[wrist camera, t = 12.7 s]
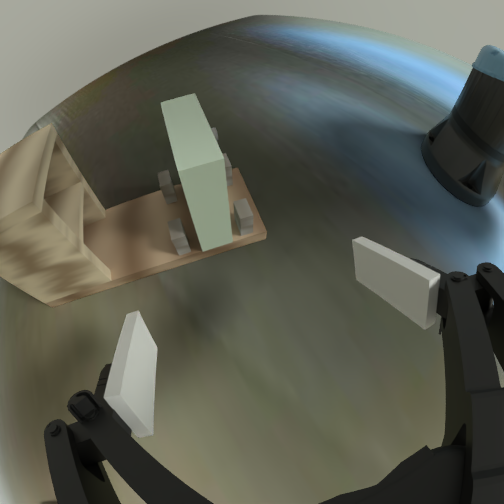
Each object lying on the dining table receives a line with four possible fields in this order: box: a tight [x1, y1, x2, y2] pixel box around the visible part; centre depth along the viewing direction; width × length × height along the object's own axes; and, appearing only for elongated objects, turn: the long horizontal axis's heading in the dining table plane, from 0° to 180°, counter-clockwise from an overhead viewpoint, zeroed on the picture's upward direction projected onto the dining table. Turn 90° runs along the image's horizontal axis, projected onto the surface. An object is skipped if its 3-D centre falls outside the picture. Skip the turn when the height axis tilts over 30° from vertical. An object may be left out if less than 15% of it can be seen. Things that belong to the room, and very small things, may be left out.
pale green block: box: [161, 93, 233, 252], centre depth 24 cm, size 4×9×11 cm, turn 20°
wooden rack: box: [0, 123, 267, 308], centre depth 22 cm, size 25×9×15 cm, turn 110°
